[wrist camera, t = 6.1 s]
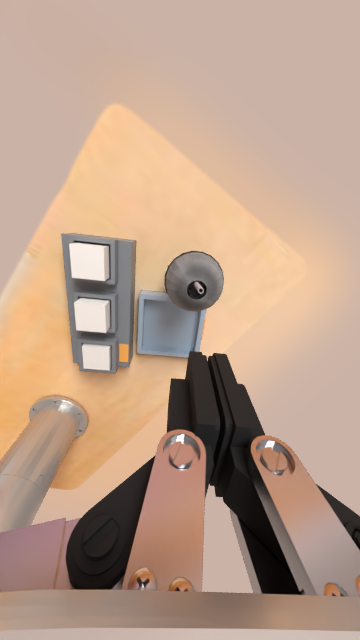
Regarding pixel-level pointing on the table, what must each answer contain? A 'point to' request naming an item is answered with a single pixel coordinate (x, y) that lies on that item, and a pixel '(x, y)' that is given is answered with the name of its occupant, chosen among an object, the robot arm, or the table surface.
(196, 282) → the beverage cup
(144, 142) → the table surface
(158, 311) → the tray
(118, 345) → the grey switch block
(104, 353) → the block
